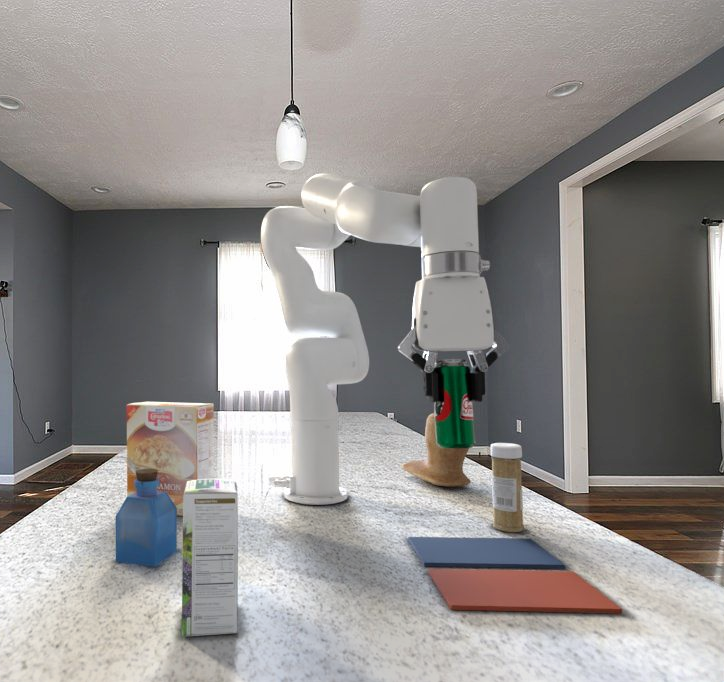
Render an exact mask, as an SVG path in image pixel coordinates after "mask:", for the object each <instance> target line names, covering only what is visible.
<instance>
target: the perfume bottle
mask: <svg viewBox="0 0 724 682" xmlns="http://www.w3.org/2000/svg"><path fill="white" fill-rule="evenodd" d="M135 472H136V477H137V479H135V480H134V487H135V488H136V493H134V494H132V495H130V496H128V497H127V496H126V497H125V499H124V501H123V502H122V504H121V506H120V508H119V510H118V511H117V513H116V515H115V562H116V563H123V564H130V565H137V566H145V567H152V568H156V567H158V566H159V565H160V564H162V563H163V562H164V561H166V560H167V559H168V558H169V557H171V556H172V555H174V554H175V553H176V552H177V551H178V515H177V508H176V506H175V505H174V503H173V502H172V500H171V499H170V497H169V495H168V494H167V492H161V491H157V487H158V486H159V478H157V472H158V470H157V469H150V468H148V469H139V470H136V471H135Z"/></svg>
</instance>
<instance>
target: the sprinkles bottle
mask: <svg viewBox="0 0 724 682" xmlns="http://www.w3.org/2000/svg"><path fill="white" fill-rule="evenodd" d="M490 456H491V457H490V459H491V473H492V474H491V487H492V488H491V490H492V491H491V492H492V493H491V494H492V511H493V513H492V514H493V517H492V518H493V522H492V526H493V528H495V530H499V531H501V532H508V533H519V532H522V531H523V530H524V528H525V526H524V515H523V510H524V499H523V489H522V488H523V487H522V458H523V449H522V446H521V445H520V444H517V443H513V442H512V443H511V442H509V443H508V442H495V443H491V444H490Z"/></svg>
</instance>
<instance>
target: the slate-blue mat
mask: <svg viewBox="0 0 724 682" xmlns="http://www.w3.org/2000/svg"><path fill="white" fill-rule="evenodd" d="M407 540H408V542H409V544H410V545H411V547H412V548H413V550H414V552H415V554H416V555H417V557H418V558H419V560H420V561H421V564H422V565H423V566H424V567H443V568H444V567H450V568H451V567H452V568H453V567H454V568H502V569H503V568H504V569H505V568H509V569H566V564H564V563H563V562H562V561H561V560H560V559H558V558H557V557H556V556H554V555H553V554H551V553H550V552H549V551H548V550H546V548H544V547H543V546H542V545H541V544H539V543H538V542H536V541H535V540H533V539H532V538H526V537H525V538H522V537H520V538H519V537H455V536H454V537H451V536H450V537H449V536H448V537H445V536H441V537H440V536H408V537H407Z"/></svg>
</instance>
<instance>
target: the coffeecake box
mask: <svg viewBox="0 0 724 682" xmlns="http://www.w3.org/2000/svg"><path fill="white" fill-rule="evenodd" d="M214 407H215V405H214V403H202V402H172V401H171V402H170V401H169V402H168V401H142V402H141V401H140V402H132V403H131V402H130V403H128V404H126V497H128V496H130V495H132V494H134V493H136V488H135V487H134V480H135V479H137V477H136V472H135V471H136V470H139V469H148V468H150V469H157V470H158V472H157V478H159V486H158V487H157V491H161V492H167V494H168V495H169V497H170V499H171V500H172V502H173V503H174V505H175V506H176V508H177V516H178V517H179V516H180V517H183V495H184V492H185V488H186V484H187V481H191V480H198V479H215V425H214V424H215V420H214V419H215V416H214V411H215V408H214Z"/></svg>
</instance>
